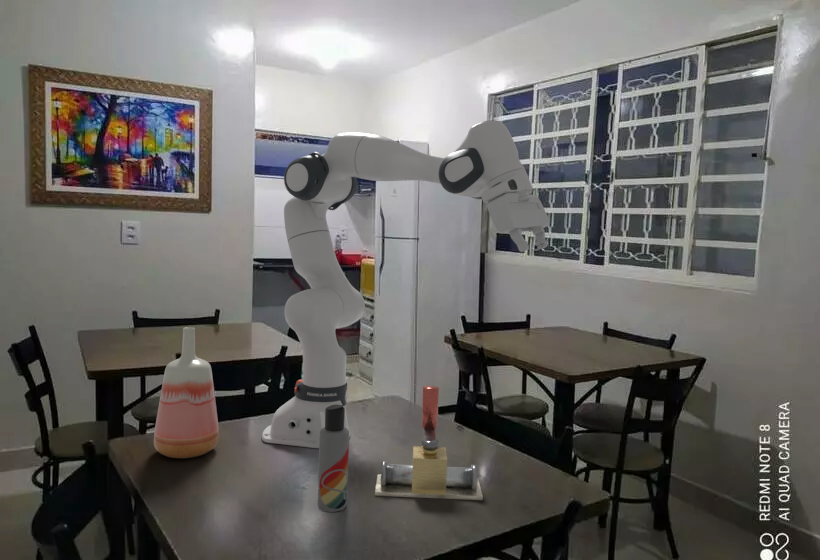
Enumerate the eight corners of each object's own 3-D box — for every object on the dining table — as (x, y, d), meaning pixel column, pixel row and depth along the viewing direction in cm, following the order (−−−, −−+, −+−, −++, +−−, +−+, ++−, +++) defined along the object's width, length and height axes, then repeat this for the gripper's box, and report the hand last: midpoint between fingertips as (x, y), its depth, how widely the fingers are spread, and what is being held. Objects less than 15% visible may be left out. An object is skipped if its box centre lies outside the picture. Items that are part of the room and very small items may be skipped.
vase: (214, 438, 153) (216, 322, 150) (222, 458, 140) (225, 332, 137) (152, 445, 146) (153, 324, 144) (155, 467, 133) (156, 334, 131)
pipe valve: (374, 495, 123) (376, 453, 123) (377, 477, 132) (379, 438, 132) (482, 500, 123) (484, 458, 123) (478, 482, 132) (479, 442, 131)
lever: (438, 450, 125) (441, 402, 124) (421, 449, 125) (423, 401, 125) (436, 429, 139) (438, 385, 138) (421, 428, 139) (422, 385, 138)
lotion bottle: (341, 514, 115) (344, 411, 113) (313, 510, 116) (316, 408, 114) (350, 501, 120) (353, 403, 119) (323, 498, 121) (326, 400, 120)
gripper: (519, 196, 141) (540, 251, 139) (476, 195, 124) (500, 258, 123) (542, 185, 137) (565, 241, 136) (502, 182, 121) (527, 246, 119)
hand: (534, 249), depth 129 cm, fingers open, 8 cm apart
